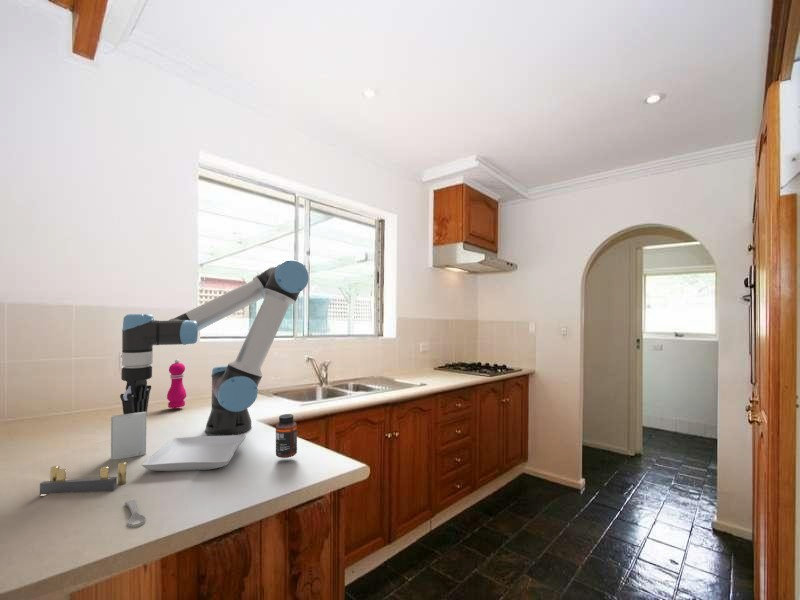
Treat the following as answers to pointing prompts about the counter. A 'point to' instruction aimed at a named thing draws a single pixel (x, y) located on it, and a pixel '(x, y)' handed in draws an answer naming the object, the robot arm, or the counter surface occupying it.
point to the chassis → (82, 481)
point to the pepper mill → (176, 386)
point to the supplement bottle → (286, 436)
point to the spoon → (134, 514)
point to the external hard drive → (128, 435)
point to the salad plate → (194, 453)
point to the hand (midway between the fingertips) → (135, 445)
